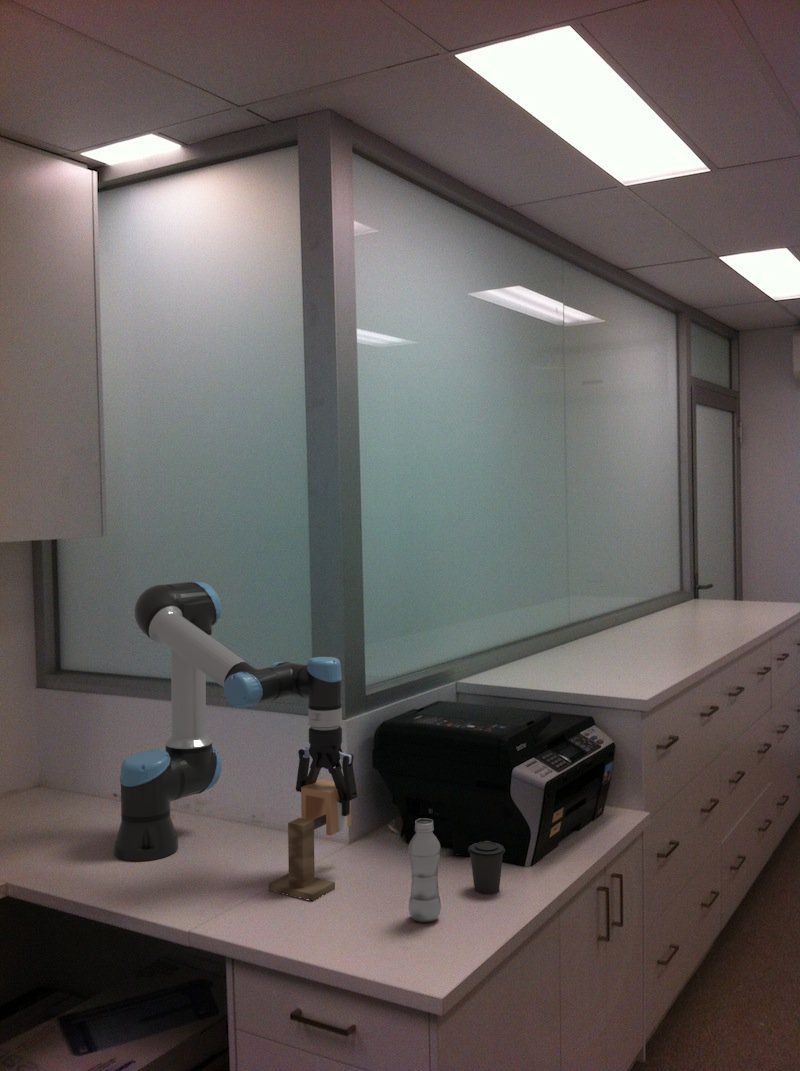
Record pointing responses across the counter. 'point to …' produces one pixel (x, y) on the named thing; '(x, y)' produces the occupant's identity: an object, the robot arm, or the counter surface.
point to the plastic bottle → (424, 873)
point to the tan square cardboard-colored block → (322, 804)
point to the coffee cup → (486, 866)
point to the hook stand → (302, 862)
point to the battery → (460, 845)
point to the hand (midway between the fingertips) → (326, 826)
